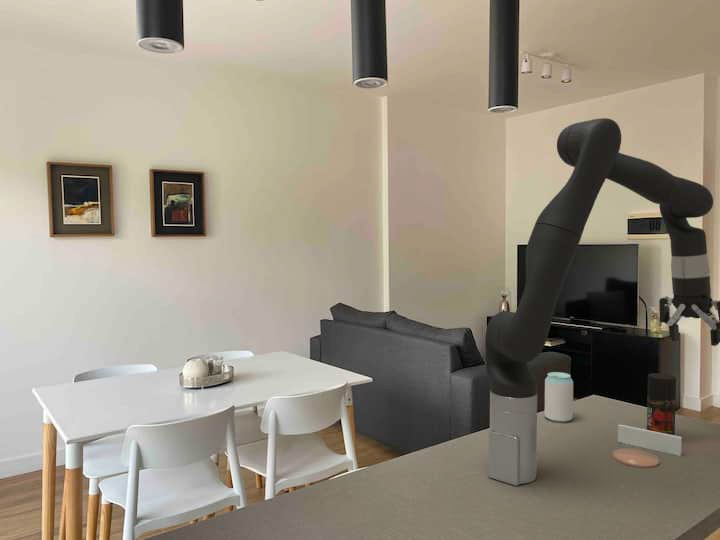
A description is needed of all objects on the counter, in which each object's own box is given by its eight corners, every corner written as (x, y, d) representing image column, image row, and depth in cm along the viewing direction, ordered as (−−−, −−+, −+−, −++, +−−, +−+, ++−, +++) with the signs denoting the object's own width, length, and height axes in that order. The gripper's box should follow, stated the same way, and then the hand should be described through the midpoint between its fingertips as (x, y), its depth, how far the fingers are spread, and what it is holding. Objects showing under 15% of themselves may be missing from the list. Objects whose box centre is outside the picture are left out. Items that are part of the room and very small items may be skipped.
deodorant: (640, 435, 134) (642, 374, 133) (658, 431, 136) (659, 372, 135) (662, 443, 128) (664, 380, 127) (680, 439, 130) (682, 377, 130)
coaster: (653, 471, 113) (653, 468, 113) (607, 460, 119) (607, 457, 119) (663, 458, 120) (663, 455, 120) (620, 447, 126) (620, 445, 126)
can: (573, 424, 142) (573, 378, 141) (544, 421, 144) (545, 376, 143) (572, 416, 148) (572, 372, 148) (544, 413, 151) (545, 370, 150)
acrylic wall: (680, 455, 121) (680, 438, 121) (617, 441, 129) (618, 425, 129) (681, 454, 122) (681, 436, 121) (618, 440, 130) (619, 424, 130)
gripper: (650, 276, 130) (655, 343, 131) (717, 277, 118) (721, 350, 119) (666, 271, 134) (671, 335, 135) (732, 271, 122) (736, 342, 124)
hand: (695, 342), depth 127 cm, fingers open, 8 cm apart
